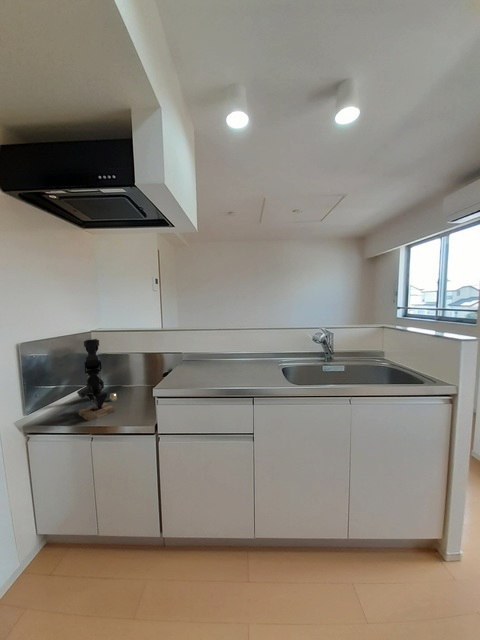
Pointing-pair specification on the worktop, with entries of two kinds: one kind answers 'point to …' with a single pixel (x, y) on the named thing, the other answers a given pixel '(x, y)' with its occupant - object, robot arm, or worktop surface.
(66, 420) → the worktop surface
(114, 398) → the short pin
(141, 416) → the worktop surface
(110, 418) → the worktop surface
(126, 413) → the worktop surface
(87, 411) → the hole plate
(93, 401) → the tall pin
